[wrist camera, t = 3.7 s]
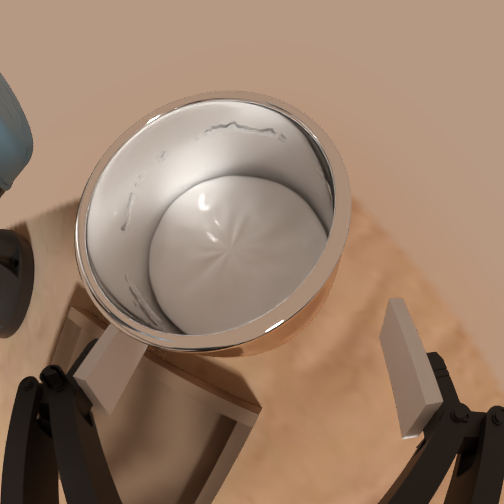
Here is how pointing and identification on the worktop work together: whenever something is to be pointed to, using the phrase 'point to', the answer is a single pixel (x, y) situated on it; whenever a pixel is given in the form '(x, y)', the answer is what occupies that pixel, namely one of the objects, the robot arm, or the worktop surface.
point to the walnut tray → (162, 425)
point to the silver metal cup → (215, 225)
